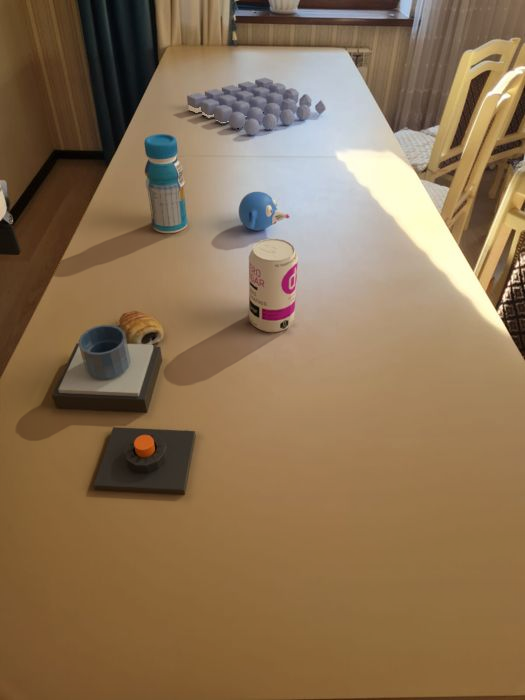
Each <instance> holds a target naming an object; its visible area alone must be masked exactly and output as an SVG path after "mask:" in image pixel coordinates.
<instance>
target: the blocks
mask: <svg viewBox="0 0 525 700" xmlns="http://www.w3.org/2000/svg"><path fill="white" fill-rule="evenodd" d="M186 100H187V101H186V102H187V106H188V105H190V106H192V107H194V108H199V107H201V111H202V112H204V113H205V114H207V115H213V114H214V117H210V118H208V117H205V119H208V120H211V119H214V118H215V119H216V120H218V121H220V122H226V123H220V122H217V121H215V122H216V123H218V124H220V125H227V124H229V126H230V128H232V127H233V128H232V129H234V130H236V131H237V130H238V131H239V130H241V129H243V130H244V132H245V133H246V134H247V135H248V136H255V135H257V134H258V133H259V131H260V128H261V126H260V123H259V122H261V124H262V126H263V128H264V129H265V130H267V131H273V130H274V129H276V128H277V126H278V118H279V120H280V123H281V124H283V125H285V126H289V125H291V124H292V123H294V120H295V114H296V117H297V118H298V119H299V120H302V121H305V120H308V119H309V118H310V116H311V108H310V107H311V106H312V101H313V100H312V98H311V97H310V95H309V94H306V93H304V94H302V96H301V97H299V91H298V90H297V89H295V88H292V87H291V88H287V89H286V85H285V84H282V83H279V82H275V83H274V80H272V79H270V78H267V77H263V78H258V79H255V80H254V83H253V82H251V81H245V82H244V81H243V82H239V83H237V86H236V85H233V84H231V85H227V86H223V87H221V90H220V89H217V88H213V89H209V90H205V91H204V94H202V93H200V92H196V93H192V94H187V95H186ZM297 104H298V107H297ZM326 108H327V107H326V105H325V103H324V102H323V100H322V99H321V100H319V101H318V103H316V104H315V106H314V110H315V111H316V113H317V114H318V115H319V116H320V115H322V114H323V113H324V112H325V111H326V110H327V109H326ZM263 112H264V113H263ZM245 116H247V117H245ZM215 119H214V120H215ZM227 121H229V122H227ZM242 127H243V128H242ZM235 128H239V129H235ZM269 129H270V130H269ZM249 134H250V135H249Z"/></svg>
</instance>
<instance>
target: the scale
mask: <svg viewBox="0 0 525 700" xmlns="http://www.w3.org/2000/svg"><path fill="white" fill-rule="evenodd" d="M127 345H128V350H129V355H130V360H131V362H130V365H129V367H128V369H127V370H126V371H125V372H124V373H122V374H120V375H118V376H116V377H113V378H109V379H98V378H95V377H92V376H90V375H89V374H88V373H87V372H86V369H85V365H84V362H83V358H82V355H81V351H80V348H79V342H77V343H75V345H74V348H73V350H72V352H71V354H70V356H69V358H68V361H67V362H66V364H65V367H64V368H63V371H62V373H61V375H60V378H59V379H58V381H57V383H56V385H55V387H54V390H53V392H52V394H51V398H52V400H53V404H54V405H55V406H54V407H55V408H56V409H57V410H74V411H75V410H77V411H94V412H120V413H139V414H142V413H144V414H148V412H149V408H150V405H151V402H152V398H153V394H154V391H155V388H156V387H155V386H156V384H157V379H158V376H159V373H160V369H161V366H162V362H163V356H162V349H161V346H154V344H152V345H143V344H128V343H127Z"/></svg>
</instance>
